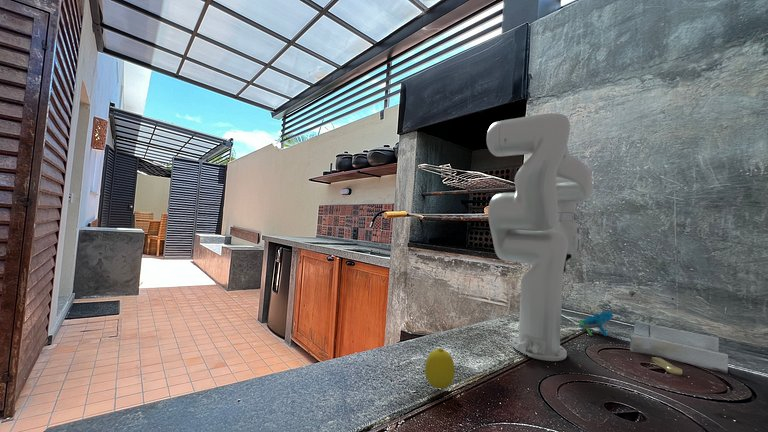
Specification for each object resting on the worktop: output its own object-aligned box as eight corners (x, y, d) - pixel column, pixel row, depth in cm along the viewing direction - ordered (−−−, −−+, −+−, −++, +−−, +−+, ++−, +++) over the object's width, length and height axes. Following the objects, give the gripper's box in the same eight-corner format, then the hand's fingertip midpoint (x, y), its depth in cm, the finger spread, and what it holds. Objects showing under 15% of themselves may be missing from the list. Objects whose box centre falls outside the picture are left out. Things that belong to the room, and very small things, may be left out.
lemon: (433, 379, 62) (435, 340, 63) (458, 390, 59) (460, 348, 59) (418, 390, 58) (420, 348, 58) (444, 402, 55) (446, 357, 55)
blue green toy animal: (599, 322, 100) (617, 307, 93) (611, 340, 96) (631, 325, 89) (569, 327, 99) (584, 312, 92) (580, 345, 95) (597, 331, 87)
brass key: (685, 375, 69) (685, 371, 69) (672, 374, 69) (672, 370, 69) (661, 361, 76) (662, 357, 76) (649, 360, 76) (649, 356, 76)
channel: (728, 375, 70) (729, 358, 70) (629, 350, 82) (630, 335, 82) (717, 350, 85) (717, 336, 85) (634, 332, 96) (634, 319, 96)
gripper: (590, 219, 100) (588, 275, 100) (540, 217, 110) (538, 268, 110) (586, 218, 95) (584, 278, 94) (534, 217, 105) (532, 271, 105)
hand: (559, 273), depth 102 cm, fingers closed
